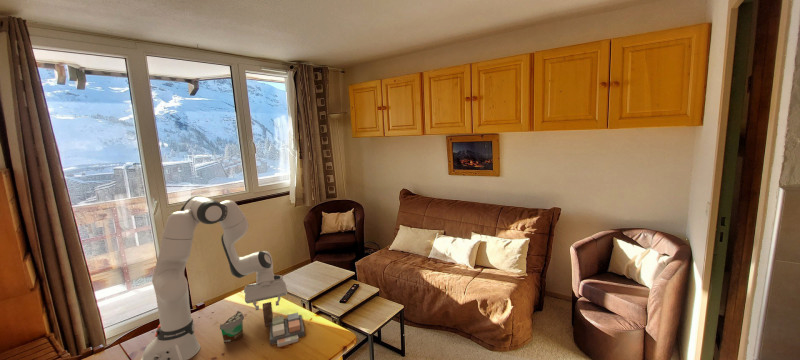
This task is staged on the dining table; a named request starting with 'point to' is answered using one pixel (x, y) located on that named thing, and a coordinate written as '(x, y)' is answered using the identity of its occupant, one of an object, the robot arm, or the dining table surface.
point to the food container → (233, 328)
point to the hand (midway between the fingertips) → (267, 307)
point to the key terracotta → (294, 326)
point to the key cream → (278, 330)
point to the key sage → (277, 320)
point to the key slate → (293, 317)
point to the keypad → (286, 334)
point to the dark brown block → (267, 313)
